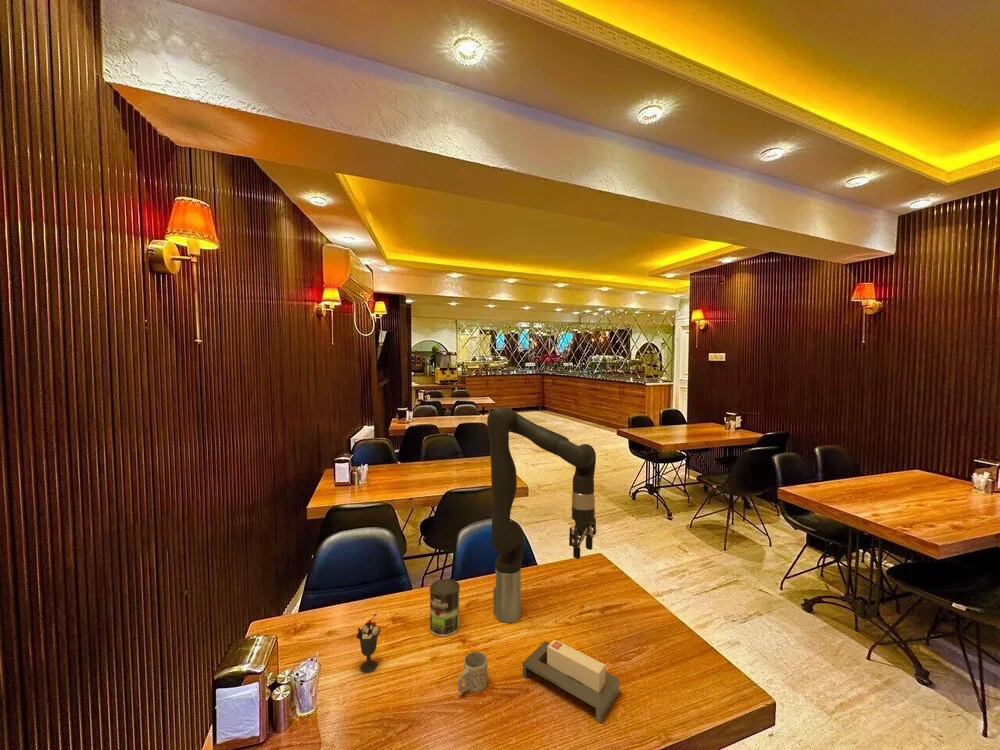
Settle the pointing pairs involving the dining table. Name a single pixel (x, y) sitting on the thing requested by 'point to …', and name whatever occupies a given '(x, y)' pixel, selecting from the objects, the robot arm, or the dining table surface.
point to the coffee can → (444, 607)
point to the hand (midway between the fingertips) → (583, 553)
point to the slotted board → (573, 682)
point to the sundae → (368, 644)
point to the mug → (474, 673)
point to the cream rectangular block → (576, 665)
